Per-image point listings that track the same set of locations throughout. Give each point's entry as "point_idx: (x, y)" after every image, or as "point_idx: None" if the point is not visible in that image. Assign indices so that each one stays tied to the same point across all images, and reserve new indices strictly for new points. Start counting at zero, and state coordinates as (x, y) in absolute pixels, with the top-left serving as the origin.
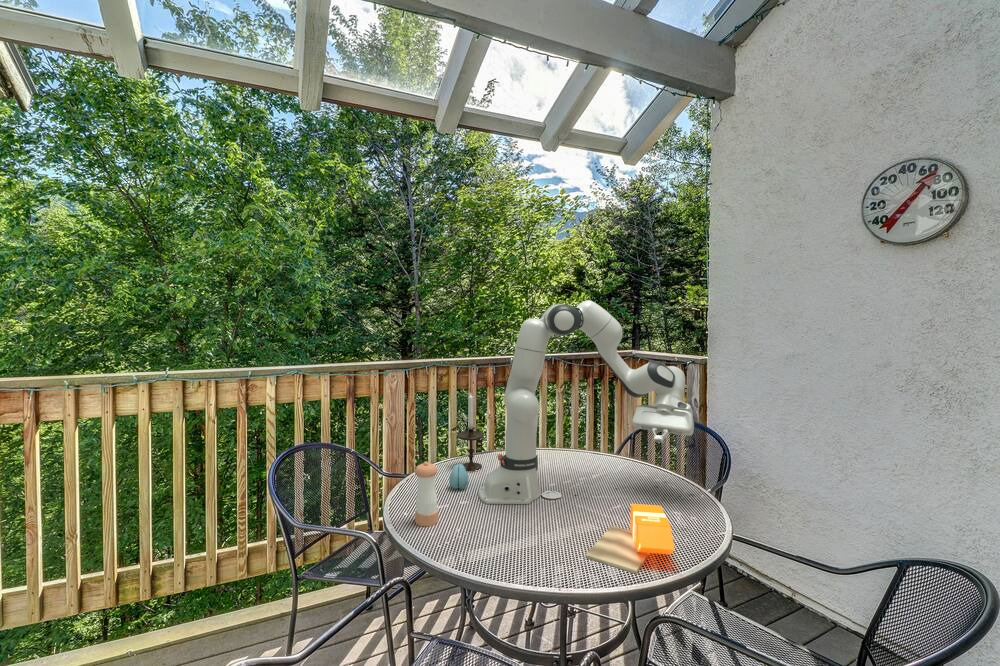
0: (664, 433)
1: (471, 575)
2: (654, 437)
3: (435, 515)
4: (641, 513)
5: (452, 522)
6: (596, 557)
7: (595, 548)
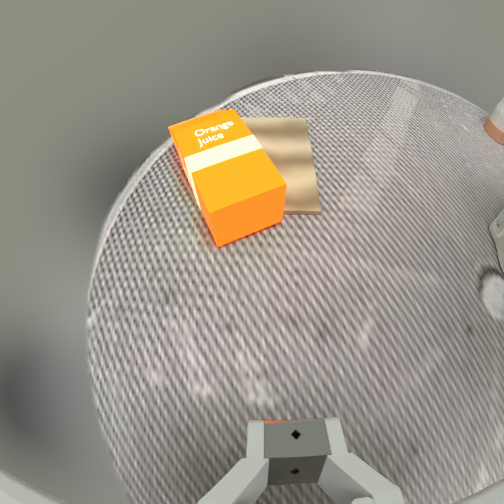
0: (234, 484)
1: (376, 74)
2: (335, 429)
3: (490, 123)
4: (241, 147)
5: (483, 139)
6: (288, 118)
7: (302, 134)
